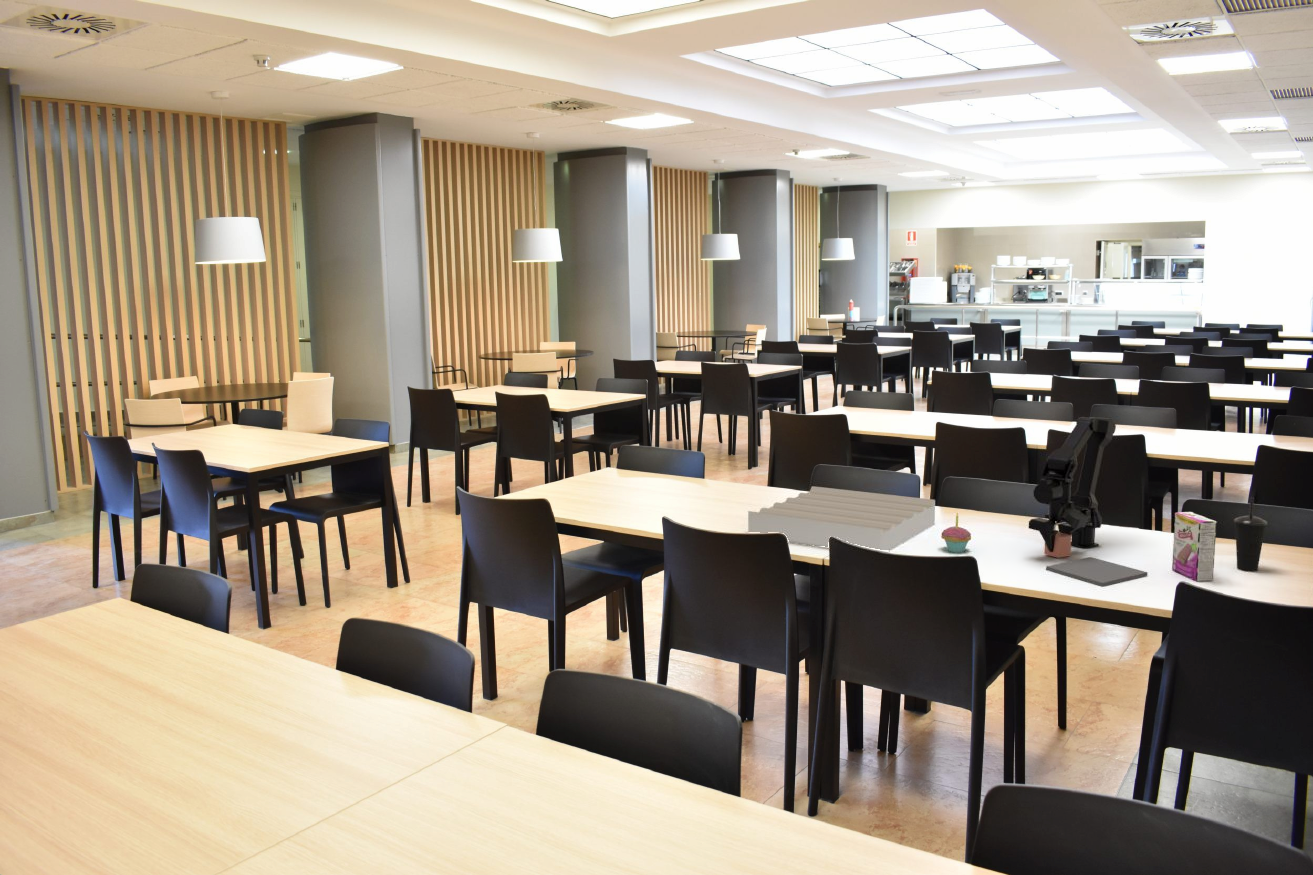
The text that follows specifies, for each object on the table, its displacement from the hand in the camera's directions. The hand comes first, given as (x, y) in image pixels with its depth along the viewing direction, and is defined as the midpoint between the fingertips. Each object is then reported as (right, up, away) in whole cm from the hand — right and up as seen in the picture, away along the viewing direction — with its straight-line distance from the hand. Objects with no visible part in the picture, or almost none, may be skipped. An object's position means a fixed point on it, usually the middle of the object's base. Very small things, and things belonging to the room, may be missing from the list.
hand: (1057, 550), depth 284 cm
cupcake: (-27, -1, +9) cm, 28 cm away
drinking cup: (+45, -3, -17) cm, 48 cm away
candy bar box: (+27, -5, -21) cm, 35 cm away
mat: (+4, -4, -17) cm, 18 cm away
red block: (0, -1, 0) cm, 1 cm away
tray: (-56, +2, +35) cm, 66 cm away
